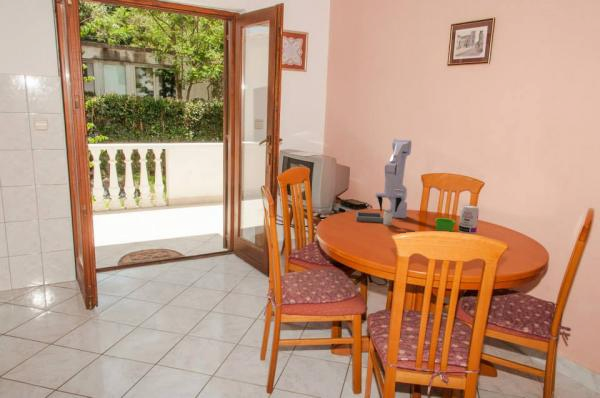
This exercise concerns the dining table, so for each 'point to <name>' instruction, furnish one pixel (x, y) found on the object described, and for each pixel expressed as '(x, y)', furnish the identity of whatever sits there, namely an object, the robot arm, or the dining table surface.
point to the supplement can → (468, 219)
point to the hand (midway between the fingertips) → (388, 211)
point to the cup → (444, 224)
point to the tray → (369, 217)
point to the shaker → (387, 217)
